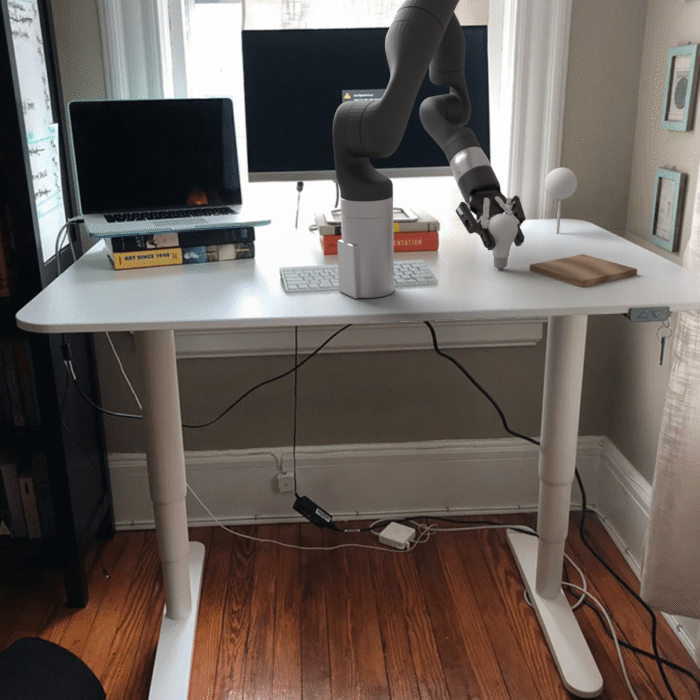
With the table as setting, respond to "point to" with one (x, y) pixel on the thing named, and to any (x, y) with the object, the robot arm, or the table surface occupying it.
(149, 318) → the table surface
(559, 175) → the lollipop
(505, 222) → the lightbulb
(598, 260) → the walnut board
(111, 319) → the table surface
